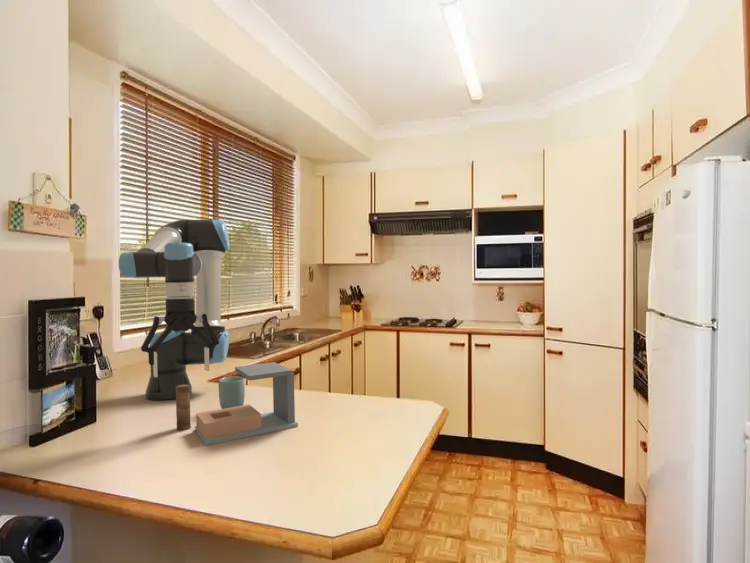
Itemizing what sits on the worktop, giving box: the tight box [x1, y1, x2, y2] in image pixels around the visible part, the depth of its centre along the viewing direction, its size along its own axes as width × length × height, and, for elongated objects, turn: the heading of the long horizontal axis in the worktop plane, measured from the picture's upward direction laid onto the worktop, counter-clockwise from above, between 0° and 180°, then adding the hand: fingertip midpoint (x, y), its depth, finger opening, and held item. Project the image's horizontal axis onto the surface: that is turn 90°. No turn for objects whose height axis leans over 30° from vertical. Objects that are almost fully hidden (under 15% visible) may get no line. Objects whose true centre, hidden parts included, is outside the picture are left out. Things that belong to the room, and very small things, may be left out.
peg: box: [175, 385, 192, 432], centre depth 131 cm, size 4×4×12 cm
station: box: [194, 361, 299, 446], centre depth 130 cm, size 14×25×16 cm, turn 122°
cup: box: [217, 376, 246, 409], centre depth 147 cm, size 8×8×10 cm
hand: (182, 373), depth 130 cm, fingers open, 13 cm apart
